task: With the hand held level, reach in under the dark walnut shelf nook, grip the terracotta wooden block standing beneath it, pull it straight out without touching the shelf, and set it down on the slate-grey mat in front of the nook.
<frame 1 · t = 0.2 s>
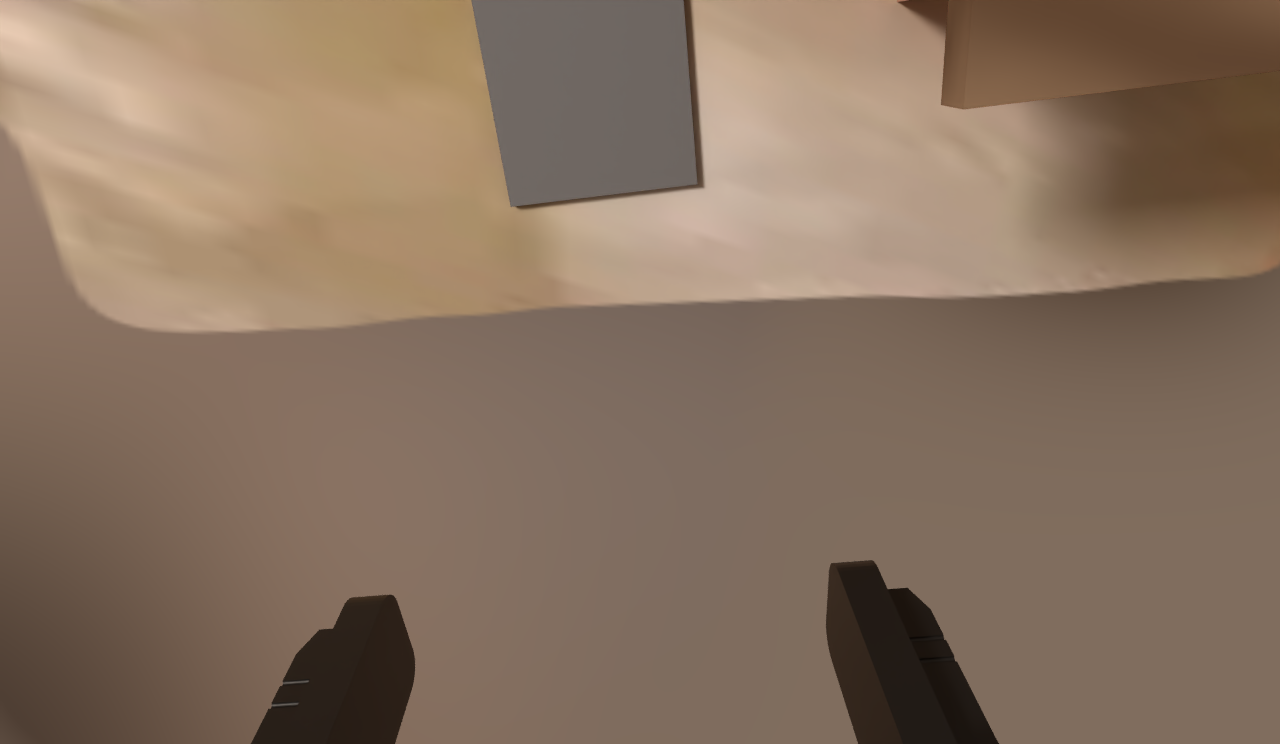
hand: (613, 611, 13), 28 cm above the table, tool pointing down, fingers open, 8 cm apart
slate mat: (590, 94, 36), on the table
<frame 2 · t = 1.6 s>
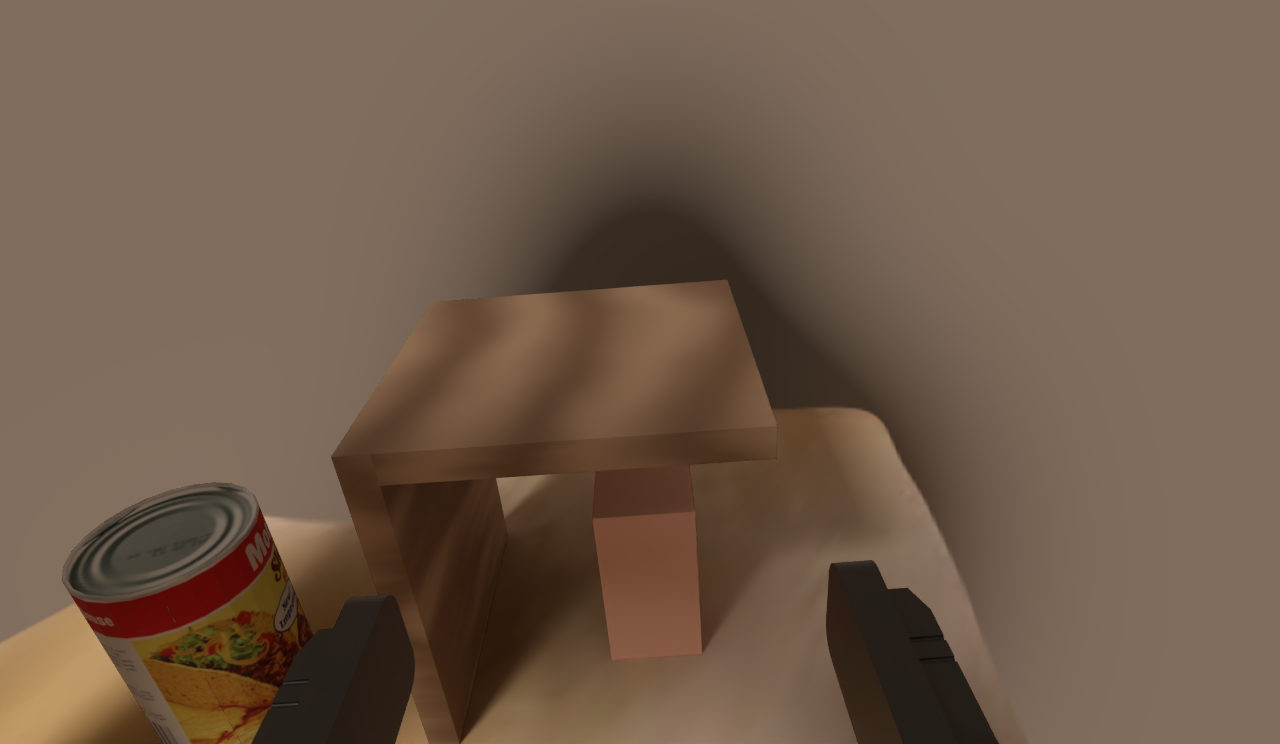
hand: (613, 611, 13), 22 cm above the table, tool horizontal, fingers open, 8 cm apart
shelf nook: (655, 621, 41), on the table
terracotta block: (655, 621, 41), on the table
canned food: (252, 707, 38), on the table
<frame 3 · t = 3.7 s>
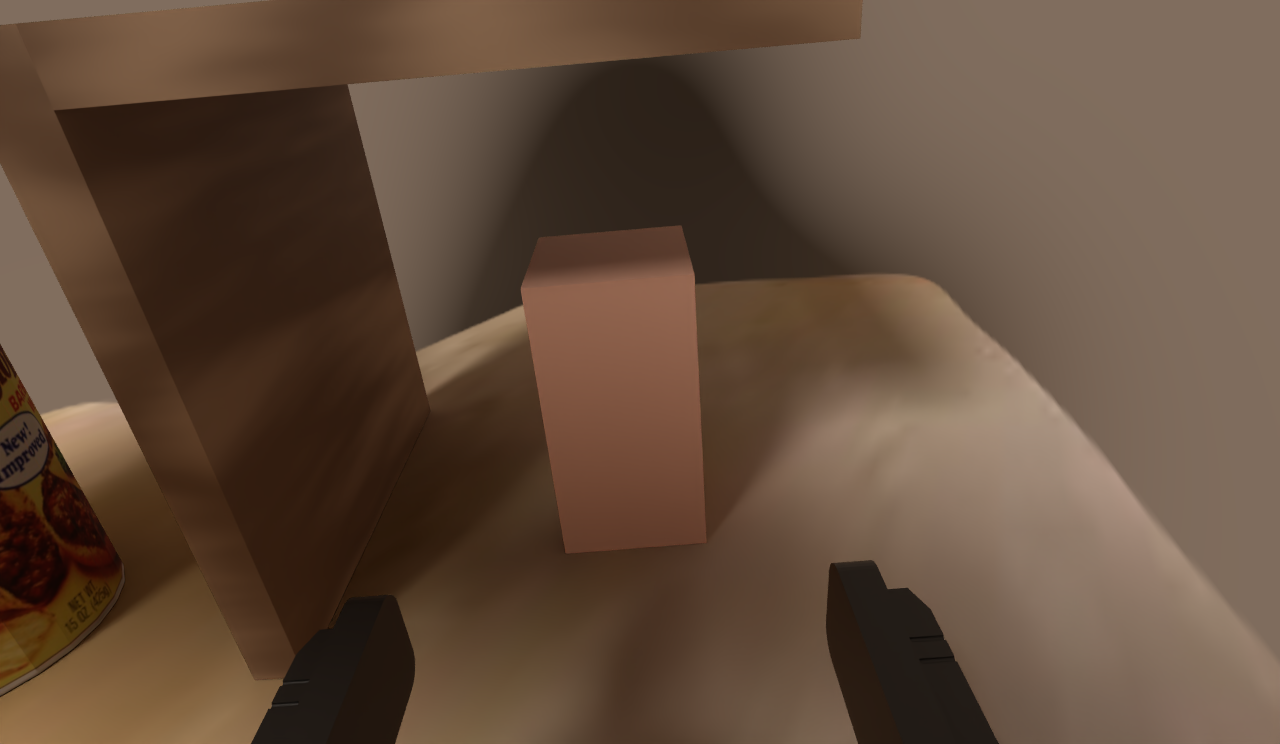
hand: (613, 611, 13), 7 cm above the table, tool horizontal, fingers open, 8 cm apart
shelf nook: (634, 502, 27), on the table
terracotta block: (634, 503, 27), on the table
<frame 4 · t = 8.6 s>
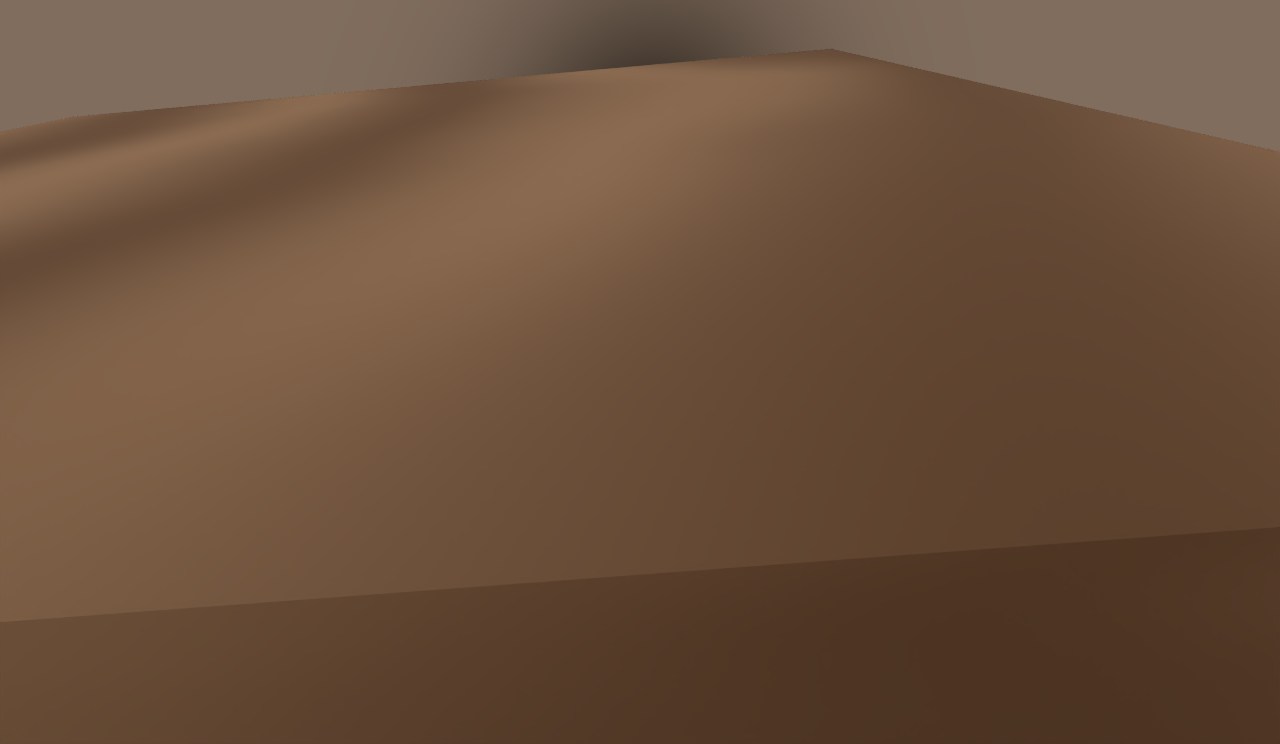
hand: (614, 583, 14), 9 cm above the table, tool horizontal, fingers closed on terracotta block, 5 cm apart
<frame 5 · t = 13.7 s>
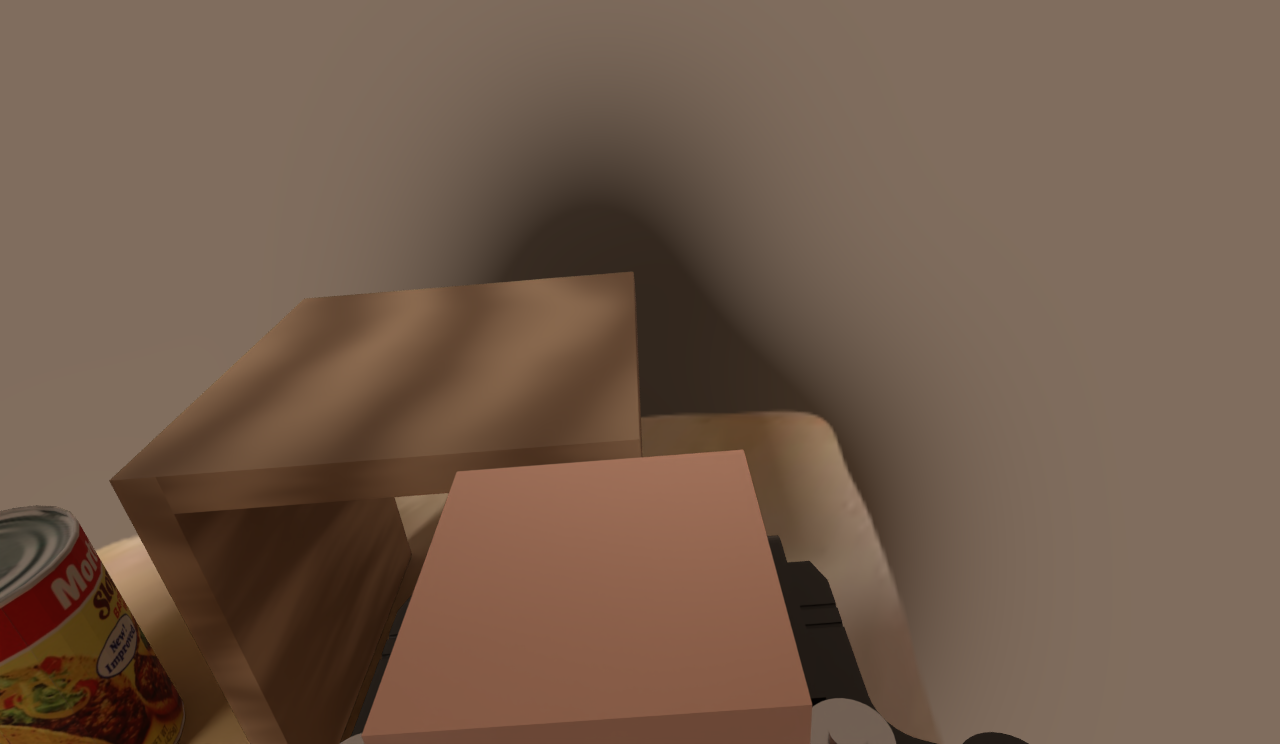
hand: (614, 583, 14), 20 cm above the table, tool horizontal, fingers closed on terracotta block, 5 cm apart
shelf nook: (558, 653, 37), on the table
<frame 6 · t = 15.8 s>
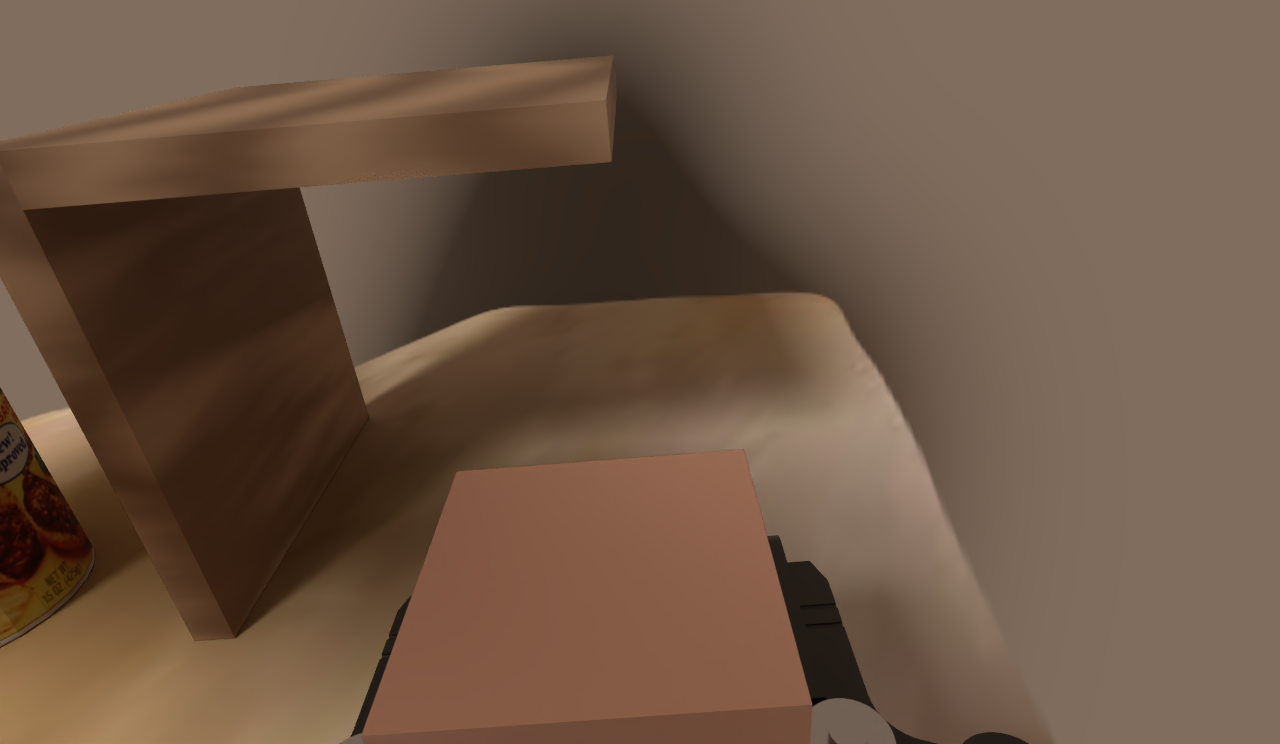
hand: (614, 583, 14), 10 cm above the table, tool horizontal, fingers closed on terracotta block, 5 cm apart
shelf nook: (526, 498, 32), on the table
when the fingers open (8 cm above the table, at t = 16.7 s): terracotta block stays where it is, resting on slate mat.
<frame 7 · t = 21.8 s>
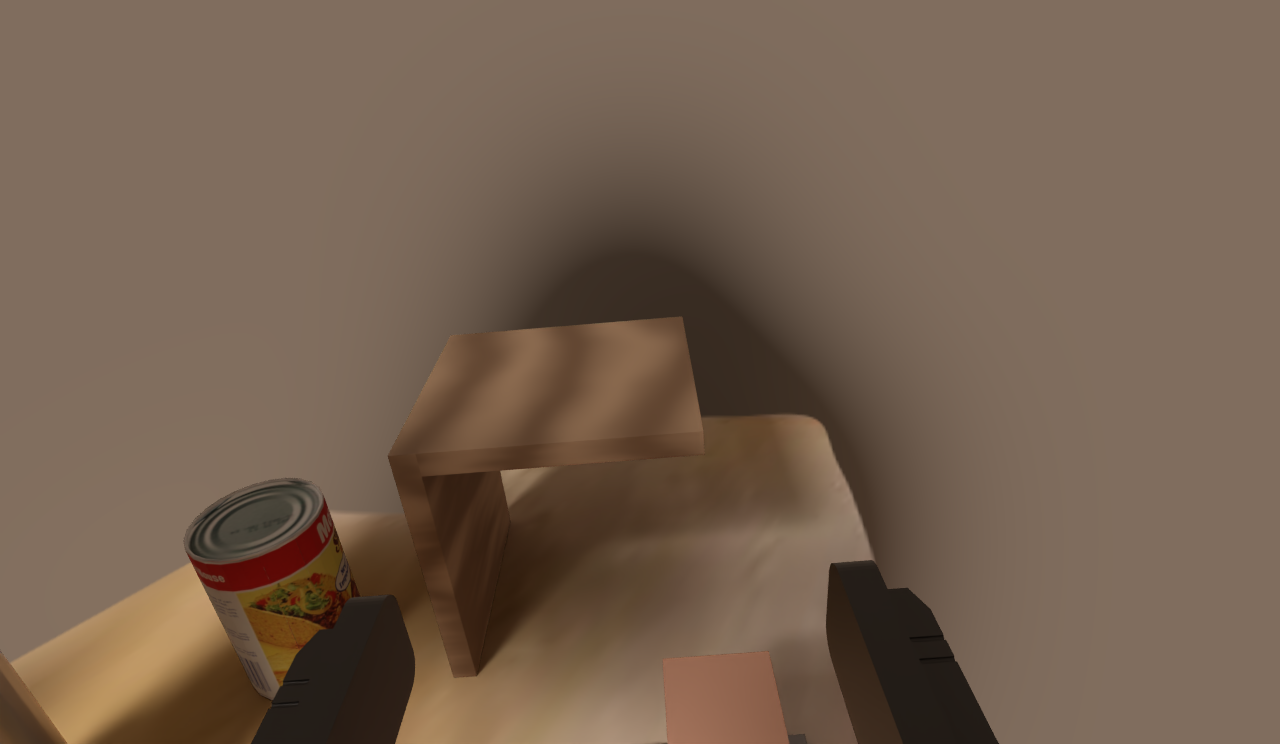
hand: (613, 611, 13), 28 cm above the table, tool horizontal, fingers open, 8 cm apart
shelf nook: (628, 585, 52), on the table
canned food: (314, 653, 49), on the table
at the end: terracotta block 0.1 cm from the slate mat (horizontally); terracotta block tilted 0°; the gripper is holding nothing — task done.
